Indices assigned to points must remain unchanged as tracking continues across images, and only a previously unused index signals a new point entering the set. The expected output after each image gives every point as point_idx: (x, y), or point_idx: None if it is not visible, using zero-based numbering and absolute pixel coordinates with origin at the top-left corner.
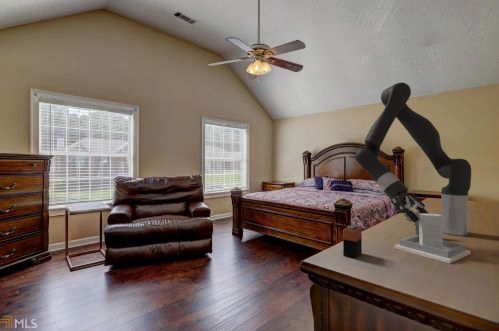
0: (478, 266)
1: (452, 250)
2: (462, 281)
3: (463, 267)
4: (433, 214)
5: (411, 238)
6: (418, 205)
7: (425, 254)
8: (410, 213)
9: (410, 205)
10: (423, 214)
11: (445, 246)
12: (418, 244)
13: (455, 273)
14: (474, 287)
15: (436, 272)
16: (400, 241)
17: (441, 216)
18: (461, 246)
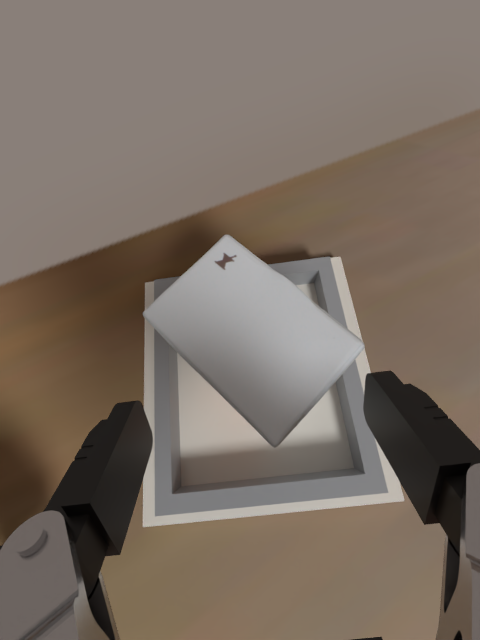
0: (270, 218)
1: (283, 263)
2: (444, 178)
3: (327, 229)
4: (222, 305)
5: (269, 483)
6: (83, 603)
7: (360, 337)
8: (473, 449)
9: (468, 563)
10: (328, 351)
11: (176, 353)
12: (356, 375)
13: (407, 212)
14: (449, 152)
15: (464, 235)
16: (381, 483)
17: (230, 237)
18: None
